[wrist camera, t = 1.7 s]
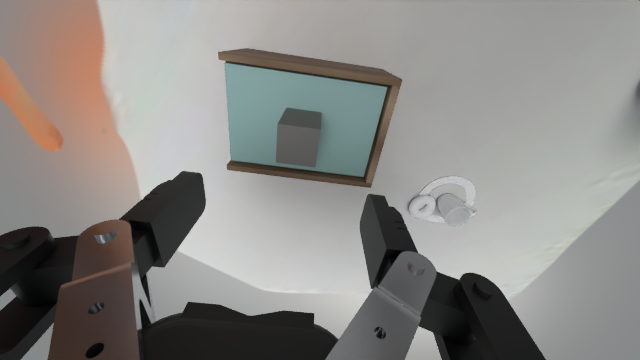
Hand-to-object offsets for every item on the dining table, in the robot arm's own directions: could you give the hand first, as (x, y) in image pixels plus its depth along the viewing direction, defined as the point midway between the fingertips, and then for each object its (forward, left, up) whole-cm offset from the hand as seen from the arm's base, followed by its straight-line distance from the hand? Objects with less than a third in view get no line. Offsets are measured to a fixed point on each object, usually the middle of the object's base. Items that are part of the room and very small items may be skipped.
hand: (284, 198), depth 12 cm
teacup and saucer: (+8, +18, -18) cm, 27 cm away
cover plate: (0, 0, -12) cm, 12 cm away
